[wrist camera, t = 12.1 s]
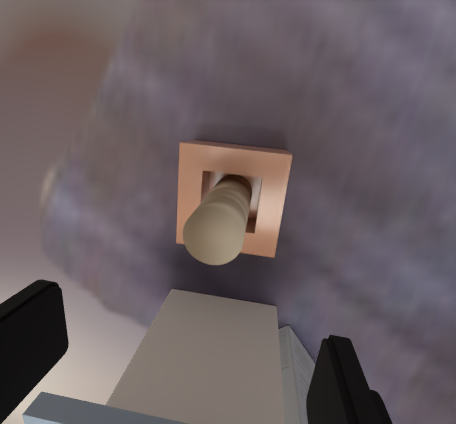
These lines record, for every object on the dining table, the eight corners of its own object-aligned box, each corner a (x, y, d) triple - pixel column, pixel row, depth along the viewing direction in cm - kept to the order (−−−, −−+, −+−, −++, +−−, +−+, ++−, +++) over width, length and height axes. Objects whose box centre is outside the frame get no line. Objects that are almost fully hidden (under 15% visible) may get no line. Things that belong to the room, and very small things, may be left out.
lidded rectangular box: (293, 263, 31) (343, 487, 12) (282, 316, 33) (307, 571, 14) (165, 243, 32) (22, 414, 13) (164, 296, 35) (44, 502, 16)
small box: (247, 339, 35) (239, 453, 23) (289, 323, 33) (304, 437, 21) (277, 380, 37) (283, 506, 25) (317, 366, 35) (347, 495, 23)
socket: (287, 150, 27) (292, 155, 22) (272, 237, 30) (274, 257, 25) (193, 139, 27) (179, 142, 23) (189, 225, 31) (176, 243, 26)
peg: (254, 176, 27) (247, 213, 16) (249, 212, 28) (239, 269, 17) (217, 171, 27) (183, 204, 16) (214, 207, 29) (181, 259, 17)
